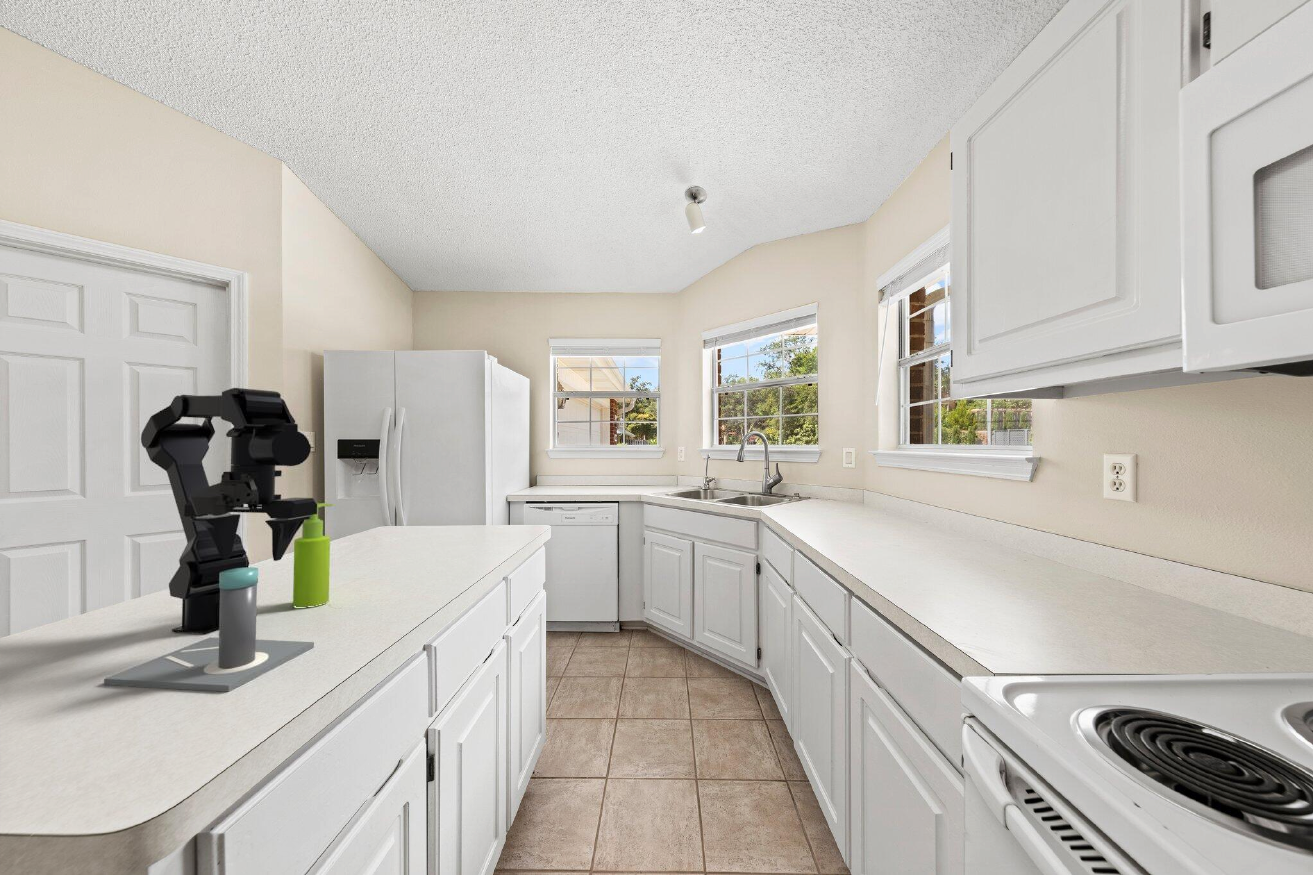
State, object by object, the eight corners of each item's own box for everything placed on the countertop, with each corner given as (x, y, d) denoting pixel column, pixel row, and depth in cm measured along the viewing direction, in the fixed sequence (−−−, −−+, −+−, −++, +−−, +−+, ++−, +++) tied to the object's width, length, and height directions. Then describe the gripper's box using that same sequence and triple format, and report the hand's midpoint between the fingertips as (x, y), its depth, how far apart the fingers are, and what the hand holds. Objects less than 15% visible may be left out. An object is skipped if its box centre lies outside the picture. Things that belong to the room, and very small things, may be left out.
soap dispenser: (339, 598, 101) (341, 502, 102) (312, 609, 95) (315, 506, 95) (313, 597, 102) (315, 501, 102) (285, 607, 95) (287, 505, 95)
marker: (213, 663, 69) (215, 571, 69) (250, 653, 72) (252, 565, 73) (222, 671, 66) (224, 576, 67) (260, 660, 70) (262, 570, 70)
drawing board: (103, 684, 64) (104, 677, 64) (209, 642, 78) (209, 636, 78) (228, 691, 63) (228, 684, 63) (313, 647, 77) (314, 641, 77)
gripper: (147, 466, 73) (144, 570, 73) (262, 467, 72) (259, 574, 71) (219, 463, 84) (217, 554, 84) (320, 464, 83) (318, 556, 82)
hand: (251, 559), depth 80 cm, fingers open, 9 cm apart
